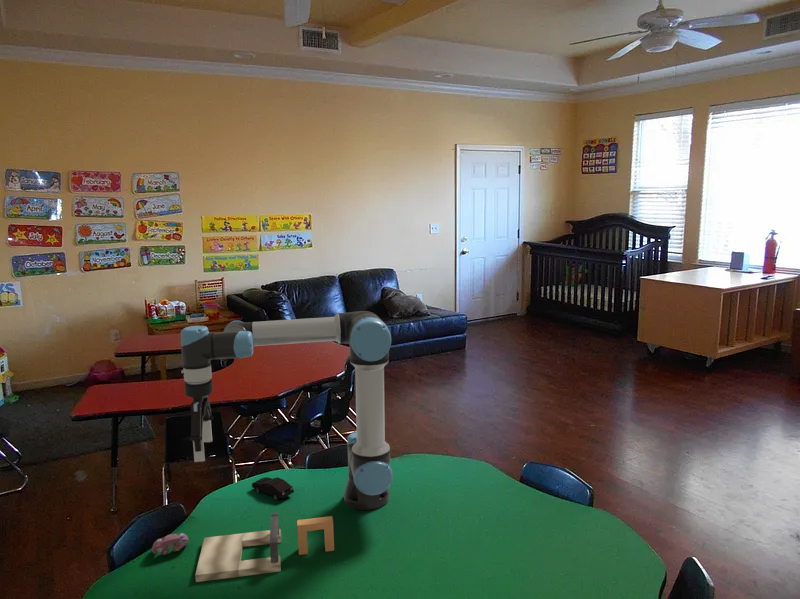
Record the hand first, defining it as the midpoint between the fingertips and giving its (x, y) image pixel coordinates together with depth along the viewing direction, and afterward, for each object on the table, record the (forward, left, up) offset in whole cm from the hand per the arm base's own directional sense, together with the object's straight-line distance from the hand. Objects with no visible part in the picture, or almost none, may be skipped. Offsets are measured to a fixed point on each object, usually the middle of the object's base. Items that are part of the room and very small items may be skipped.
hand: (203, 451), depth 172 cm
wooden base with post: (-10, +12, -28) cm, 31 cm away
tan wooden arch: (-31, +13, -28) cm, 43 cm away
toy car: (-18, -24, -28) cm, 41 cm away
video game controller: (+10, +4, -28) cm, 30 cm away
